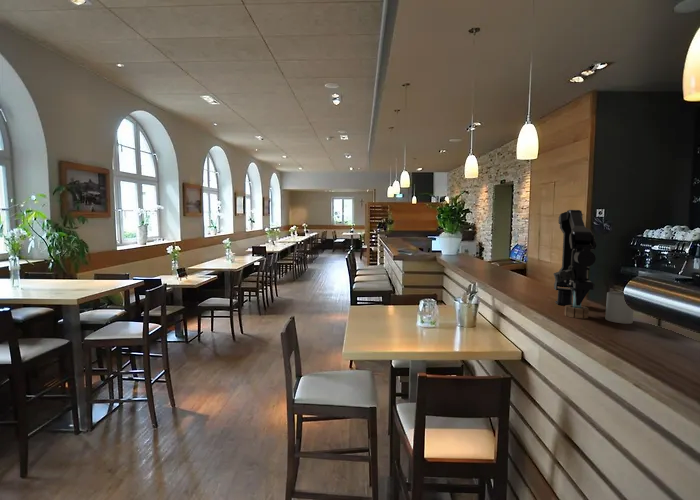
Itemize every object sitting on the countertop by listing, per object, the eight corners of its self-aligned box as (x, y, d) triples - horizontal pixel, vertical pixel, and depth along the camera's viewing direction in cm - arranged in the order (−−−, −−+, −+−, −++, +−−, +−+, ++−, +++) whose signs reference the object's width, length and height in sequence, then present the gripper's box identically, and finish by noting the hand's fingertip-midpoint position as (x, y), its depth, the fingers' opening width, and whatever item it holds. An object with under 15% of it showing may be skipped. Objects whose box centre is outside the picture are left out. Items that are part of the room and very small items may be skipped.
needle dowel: (571, 313, 157) (573, 288, 157) (579, 314, 157) (581, 288, 156) (573, 315, 155) (575, 289, 154) (581, 315, 154) (583, 289, 153)
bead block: (562, 313, 160) (563, 304, 160) (584, 314, 158) (585, 305, 158) (567, 317, 153) (568, 308, 153) (590, 319, 151) (590, 309, 151)
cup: (626, 318, 153) (628, 292, 152) (637, 324, 145) (639, 296, 144) (601, 317, 155) (603, 291, 154) (611, 322, 147) (613, 295, 146)
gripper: (551, 260, 165) (549, 298, 167) (561, 265, 147) (559, 307, 149) (582, 262, 162) (579, 300, 163) (596, 266, 144) (593, 310, 146)
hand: (576, 304), depth 155 cm, fingers closed on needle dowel, 3 cm apart
